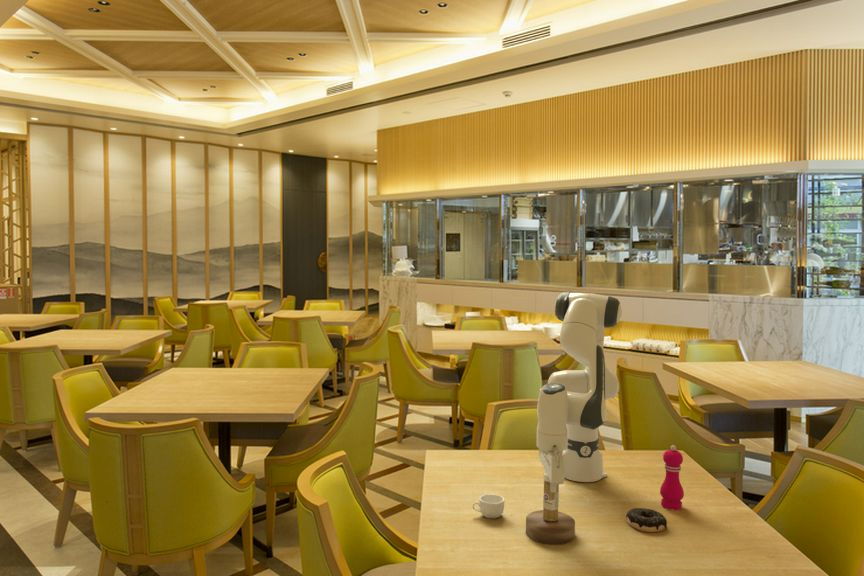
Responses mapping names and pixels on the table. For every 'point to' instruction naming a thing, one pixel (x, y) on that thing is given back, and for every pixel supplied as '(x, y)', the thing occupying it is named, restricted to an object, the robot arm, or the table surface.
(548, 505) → the sprinkles bottle
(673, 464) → the pepper mill
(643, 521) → the donut
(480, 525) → the table surface
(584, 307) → the robot arm
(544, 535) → the disc
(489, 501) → the teacup
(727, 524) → the table surface
